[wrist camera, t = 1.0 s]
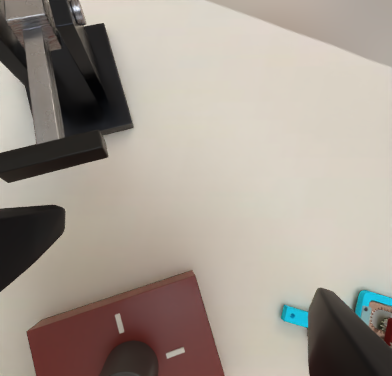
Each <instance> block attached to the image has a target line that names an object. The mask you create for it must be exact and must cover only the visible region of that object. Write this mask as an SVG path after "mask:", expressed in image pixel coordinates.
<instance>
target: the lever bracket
mask: <svg viewBox="0 0 392 376" xmlns="http://www.w3.org/2000/svg"><path fill="white" fill-rule="evenodd" d="M49 4H50V8H51V12H52V15H53V19H54V23H55V27H56V29H57V30H58V32H59V34H60V38H61V44H62V49H59V50H53V51H51V57H52V63H53V69H54V75H55V80H56V86H57V92H58V98H59V104H60V110H61V116H62V122H63V128H64V134H65V137H69V136H73V135H77V134H81V133H85V132H89V131H94V130H99V131H100V132H101V134H102V135H105V134H109V133H114V132H118V131H122V130H126V129H130V128H133V123H132V120H131V116H130V113H129V109H128V106H127V102H126V99H125V95H124V92H123V88H122V85H121V81H120V78H119V74H118V71H117V67H116V64H115V60H114V57H113V53H112V50H111V46H110V43H109V39H108V36H107V32H106V29H105V25H104V23H101V24H96V25H90V26H85V27H84V26H83V25H86V20H85V17H84V13H83V10H82V7H81V5H80V2H79V0H49ZM0 61H1V62H2V63H3V64H4V65H5V66H6V67H7V68H8V69H9V70H10V71H11V72H12V73H13V74H14V75H15V76H16V77H17V78H18V79H19V80H20V81H21V82H22V83H23V84H24V85H25V88H26V92H27V96H28V100H29V104H30V108H31V113H32V117H33V112H32V104H31V96H30V88H29V80H28V71H27V63H26V55H25V50H24V49H23V47H22V46H21V44H20V43H19V41H18V39H17V38H16V36H15V35H14V33H13V32H12V30H11V29H10V27H9V26H8V24H7V23H6V21H5V10H4V0H0ZM33 121H34V120H33Z"/></svg>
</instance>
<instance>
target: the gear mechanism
mask: <svg viewBox="0 0 392 376" xmlns="http://www.w3.org/2000/svg"><path fill="white" fill-rule="evenodd" d="M372 300H373V301H372ZM374 301H377V302H380V303H383V304H386V305H383V304H380V303H377V302H374ZM387 305H390V306H392V298H389V297H386V296H383V295H380V294H376V293H373V292H370V291H367V290H363V291H361V292H360V293H359V296H358V301H357V304H356V308H355V313H356V314H357V315H358V316H359V317H360V318H361V319H362V320H363V321H364V322H365V323H366V324H367V325H368V326H369V327H370V328H371V329H372V330H373V331H374V332H375V333H376V334H377V335H378V336H379V337H380V338H381V339H382V340H383V341H385V342H386V343H387V344H388V345H389V346H390V347H391V348H392V318H387V320H386V319H384V322H383V321H381V322H382V323H383V325H380V326H381V327H383V328H382V329H381V330H378V329H375V327H374V326H372V325H373V324H372V323H370V322H372V320H370V318H372V317H371V316H370V315H373V313H372V311H373V312H375V310H378V309H379V310H381V309H382V310H385V311H388V312H391V313H392V307H390V306H387ZM281 319H282V320H283V321H286V322H289V323H293V324H296V325H299V326H303V327H306V328H308V312H307V311H303V310H300V309H297V308H293V307H290V306H287V305H284V307H283V312H282V316H281ZM382 330H383V331H382ZM307 336H308V333H307Z"/></svg>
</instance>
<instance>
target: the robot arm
mask: <svg viewBox="0 0 392 376" xmlns="http://www.w3.org/2000/svg"><path fill="white" fill-rule="evenodd" d="M64 229H65V209H64V208H62V207H60V206H56V205H44V206H30V207H17V208H4V209H0V292H1V291H2V290H3V289H4V288H6V287H7V286H8V285H9V284H10V283H12V282H13V281H14V280H15V279H16V278H17V277H19V276H20V275H21V274H22V273H23V272H24V271H26V270H27V269H28V268H29V267H30V266H31V265H32V264H34V263H35V262H36V261H37V260H38V259H39V258H40V257H41V256H42V255H43V253H44V252H45V251H46V250H47V249H48V248H49V247H50V246H51V245H52V244H53V243H54V242H55V241H56V240H57V239H58V238H59V237H60V236H61V235H62V234H63V232H64ZM308 364H309V374H310V376H392V348H391V347H390V346H389V345H388V344H387V343H386V342H385V341H383V340H382V339H381V338H380V337H379V336H378V335H377V334H376V333H375V332H374V331H373V330H372V329H371V328H370V327H369V326H368V325H367V324H366V323H365V322H364V321H363V320H362V319H361V318H360V317H359V316H358V315H357V314H356V313H355V312H354V311H353V310H352V309H350V308H349V307H348V306H347V305H346V304H345V303H344V302H343V301H342V300H341V299H340V298H339V297H338V296H337V295H336V294H335V293H334V292H332V291H330V290H327V289H323V288H318V289H317V291H316V293H315V295H314V298H313V300H312V303H311V305H310V308H309V311H308Z"/></svg>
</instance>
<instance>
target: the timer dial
mask: <svg viewBox="0 0 392 376" xmlns="http://www.w3.org/2000/svg"><path fill="white" fill-rule="evenodd" d="M158 368H159V366H158V359H157V356H156V354H155V352H154V351H153V350H152V348H151V347H149V346H148V345H147V344H145V343H143V342H140V341H127V342H124V343H121V344H120V345H118V346H117V347H115V348H114V349H113V350H112V351H111V353H110V354H109V355H108V357H107V359H106V362H105V364H104V366H103V368H102V371H101V373H100V375H99V376H158Z"/></svg>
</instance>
